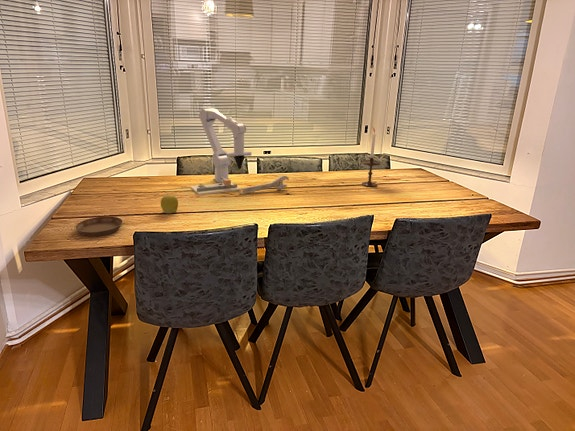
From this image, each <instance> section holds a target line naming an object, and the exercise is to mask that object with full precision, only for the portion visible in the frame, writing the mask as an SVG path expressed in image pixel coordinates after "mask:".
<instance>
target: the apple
mask: <svg viewBox="0 0 575 431" xmlns="http://www.w3.org/2000/svg"><path fill="white" fill-rule="evenodd" d="M160 208H161V210H162V212H164V213H165V214H175V213H176V212H177V210H178V208H179V200H178V198H177V197H176V195H171V194H170V195H169V194H166V195H163V196H162V198H161V200H160Z"/></svg>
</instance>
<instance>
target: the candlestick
mask: <svg viewBox="0 0 575 431" xmlns="http://www.w3.org/2000/svg"><path fill="white" fill-rule="evenodd" d="M372 128H373V134H372V135H371V144H370V145H371V146H370V156H368V158H369V159H364V160H362V161H361V163H362V164H363V165H366V166H368V167H369V171H368V172H367V175H368V176H367V178H368V181H363V182H362V183H361V186H363V187H365V188H375V187H377V186H378V183H376V182H372V178H373V176H372V175H373V174H374V173H373V172H372V170H373V167H374V166H380V165H381V164H382V163H381V161H379V160H374V159H375V158H376V157H375V156H374V155H375V145H376V144H375V143H376V133H375V132H376V129H375V127H374V126H373V127H372Z"/></svg>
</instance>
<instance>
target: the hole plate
mask: <svg viewBox="0 0 575 431" xmlns="http://www.w3.org/2000/svg"><path fill="white" fill-rule="evenodd" d="M233 184H234V183H232V182H231V185H233ZM203 185H204V186H205V187H214V186H223V185H224V184H221V183H218V182H217V183H209V184H203ZM189 188H190V189H191V190H192V191H193V192H194V193H196V194H197V195H198V196H201V195H213V194H219V193H229V192H237V191H238V192H239V189H241V188H240V187H238V186H237V187H236V188H227V189H218V190H209V191H200V192H197V188H200V185H199V184H197V185H190V186H189Z"/></svg>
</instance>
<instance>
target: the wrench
mask: <svg viewBox="0 0 575 431" xmlns="http://www.w3.org/2000/svg"><path fill="white" fill-rule="evenodd" d="M285 180H286V181H289V180H290V178H289V177H288V176H286V175H280V176H279V177H277V178H276V179H274V180H273V181H271V182H266V183H261V184H257V185H252V186H247V187H241V188H240V189H239V191H238V193H239V194H240V195H245V194H249V193H253V192H258V191H262V190H267V189H272V188H274V189H276V190H277V191H281V190H283V189H285V188H286V187H288V184H285V183H283V182H284V181H285ZM241 191H243V192H241Z"/></svg>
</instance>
